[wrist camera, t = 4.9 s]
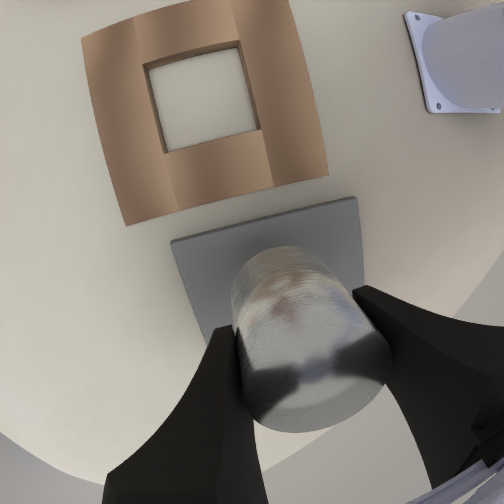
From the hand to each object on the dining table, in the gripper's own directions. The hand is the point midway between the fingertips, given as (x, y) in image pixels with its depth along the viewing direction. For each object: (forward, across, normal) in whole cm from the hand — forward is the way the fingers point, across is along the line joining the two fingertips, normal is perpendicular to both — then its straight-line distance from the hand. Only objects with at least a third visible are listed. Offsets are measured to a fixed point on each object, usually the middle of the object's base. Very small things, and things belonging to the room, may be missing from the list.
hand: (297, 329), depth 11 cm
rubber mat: (+9, -1, +4) cm, 10 cm away
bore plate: (+9, +1, -10) cm, 13 cm away
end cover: (+2, 0, 0) cm, 2 cm away
